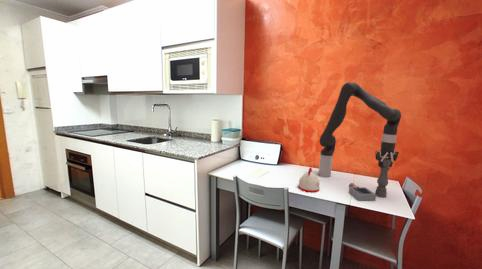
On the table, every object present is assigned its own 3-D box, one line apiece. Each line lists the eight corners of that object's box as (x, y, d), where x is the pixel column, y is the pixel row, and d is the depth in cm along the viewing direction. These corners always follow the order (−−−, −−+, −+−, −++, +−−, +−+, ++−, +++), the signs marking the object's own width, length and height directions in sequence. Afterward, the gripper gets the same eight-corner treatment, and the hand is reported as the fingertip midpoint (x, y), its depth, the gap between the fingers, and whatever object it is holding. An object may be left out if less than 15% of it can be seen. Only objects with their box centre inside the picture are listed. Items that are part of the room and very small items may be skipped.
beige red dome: (296, 189, 151) (297, 168, 148) (300, 182, 163) (302, 163, 160) (317, 194, 145) (319, 172, 142) (320, 187, 157) (322, 166, 154)
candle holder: (382, 193, 149) (387, 157, 144) (388, 197, 142) (394, 160, 138) (373, 193, 148) (378, 157, 144) (379, 197, 142) (384, 159, 138)
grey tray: (343, 189, 155) (344, 182, 154) (358, 189, 155) (359, 182, 154) (358, 201, 137) (359, 194, 136) (375, 201, 138) (376, 194, 137)
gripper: (395, 140, 143) (391, 165, 146) (373, 139, 142) (370, 165, 145) (404, 142, 135) (400, 169, 139) (381, 142, 135) (377, 168, 138)
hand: (384, 166), depth 142 cm, fingers closed on candle holder, 5 cm apart
